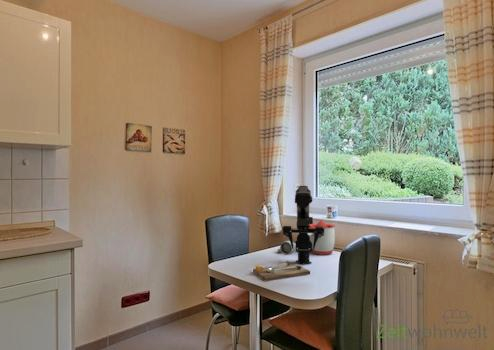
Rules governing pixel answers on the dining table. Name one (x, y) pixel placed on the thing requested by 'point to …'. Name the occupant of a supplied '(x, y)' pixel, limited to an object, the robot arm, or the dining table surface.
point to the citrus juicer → (323, 238)
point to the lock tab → (259, 268)
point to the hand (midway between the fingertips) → (303, 249)
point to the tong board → (282, 272)
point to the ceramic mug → (286, 247)
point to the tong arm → (277, 267)
